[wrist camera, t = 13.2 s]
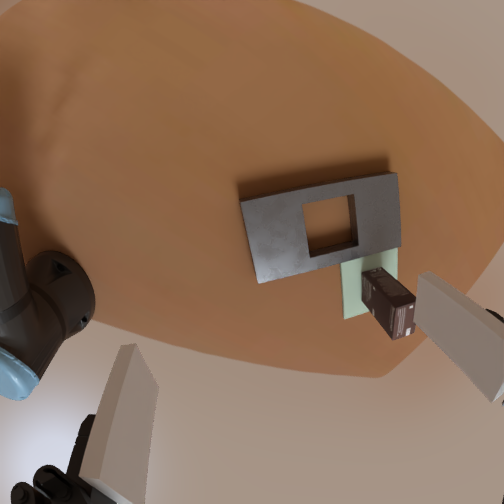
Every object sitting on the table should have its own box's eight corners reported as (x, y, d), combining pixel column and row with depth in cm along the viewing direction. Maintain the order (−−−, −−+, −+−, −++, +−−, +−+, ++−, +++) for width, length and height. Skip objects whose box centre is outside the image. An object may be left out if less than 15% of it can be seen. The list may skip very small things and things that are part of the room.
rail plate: (256, 276, 43) (258, 283, 41) (239, 199, 39) (240, 202, 37) (393, 241, 44) (401, 246, 42) (388, 171, 40) (397, 173, 37)
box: (358, 271, 44) (396, 307, 33) (381, 265, 45) (422, 298, 33) (359, 302, 46) (392, 342, 35) (380, 296, 47) (416, 332, 35)
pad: (343, 317, 48) (344, 319, 47) (339, 261, 44) (341, 263, 43) (394, 300, 48) (396, 301, 48) (395, 246, 44) (397, 247, 44)
